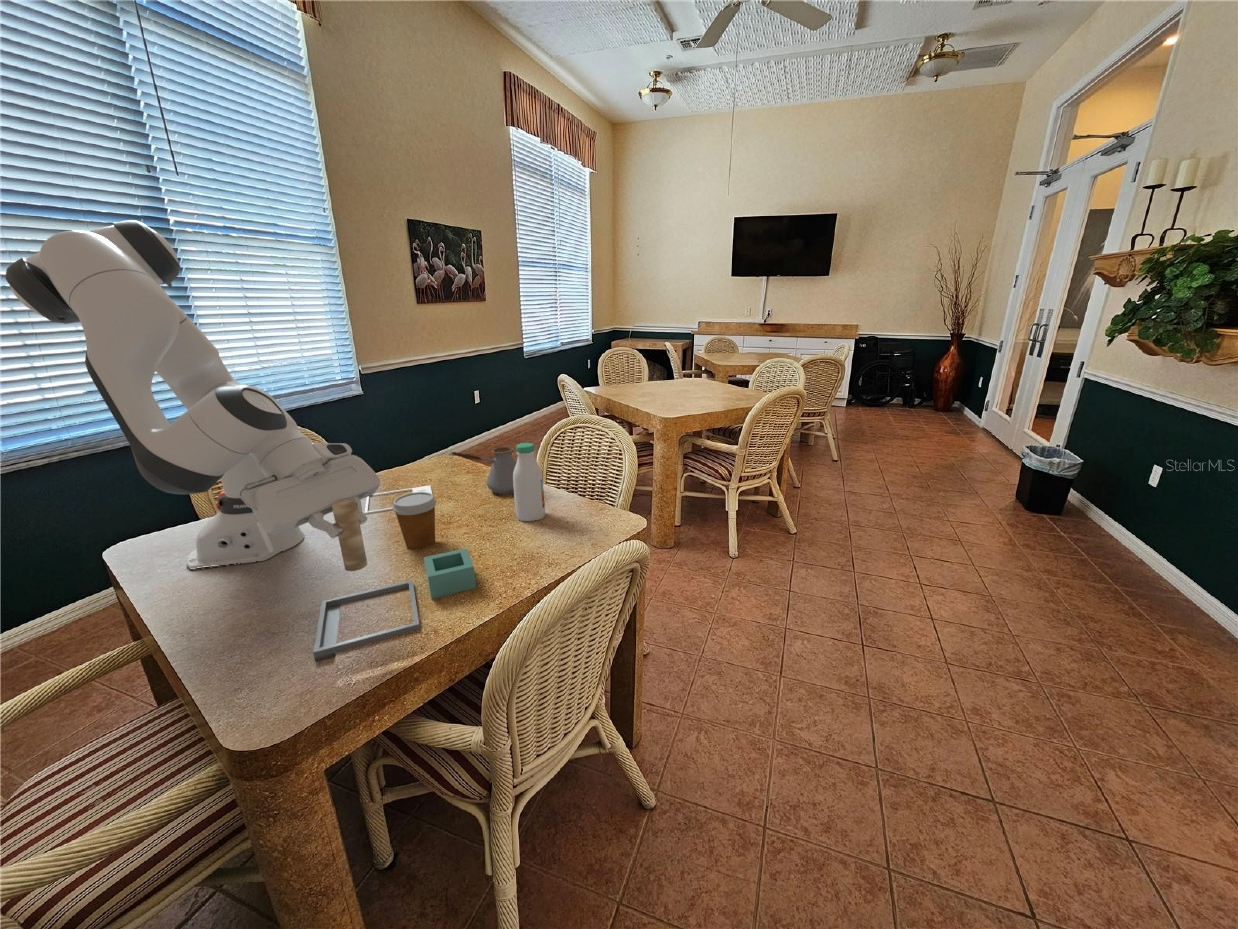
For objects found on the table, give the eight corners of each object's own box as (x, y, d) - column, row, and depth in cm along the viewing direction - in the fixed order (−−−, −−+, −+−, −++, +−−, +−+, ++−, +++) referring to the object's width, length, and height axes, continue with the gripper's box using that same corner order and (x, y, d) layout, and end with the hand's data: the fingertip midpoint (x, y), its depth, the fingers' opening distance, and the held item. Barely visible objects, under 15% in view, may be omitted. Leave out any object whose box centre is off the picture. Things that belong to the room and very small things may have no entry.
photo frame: (433, 500, 142) (364, 512, 135) (434, 504, 142) (365, 515, 136) (430, 484, 155) (366, 494, 148) (430, 488, 155) (367, 497, 148)
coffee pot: (516, 480, 159) (512, 435, 154) (531, 491, 150) (527, 443, 145) (449, 495, 147) (443, 447, 143) (462, 508, 138) (455, 457, 134)
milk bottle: (540, 523, 128) (534, 449, 122) (512, 521, 129) (505, 448, 123) (549, 511, 135) (544, 441, 129) (522, 509, 136) (515, 440, 130)
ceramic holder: (432, 602, 95) (427, 577, 93) (427, 581, 102) (423, 557, 100) (477, 591, 98) (473, 566, 96) (469, 571, 105) (466, 548, 104)
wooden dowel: (344, 573, 83) (330, 507, 80) (345, 563, 86) (332, 500, 83) (367, 568, 85) (354, 504, 81) (367, 559, 88) (355, 497, 84)
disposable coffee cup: (428, 556, 112) (420, 508, 108) (391, 553, 114) (382, 505, 110) (449, 537, 121) (443, 492, 117) (415, 535, 123) (407, 490, 119)
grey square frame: (315, 661, 80) (313, 652, 79) (323, 609, 93) (321, 601, 93) (420, 632, 86) (419, 624, 85) (413, 587, 100) (412, 580, 99)
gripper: (239, 476, 73) (299, 546, 73) (355, 441, 91) (404, 497, 91) (227, 500, 76) (285, 567, 76) (342, 461, 94) (389, 515, 94)
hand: (351, 528), depth 83 cm, fingers closed on wooden dowel, 3 cm apart
